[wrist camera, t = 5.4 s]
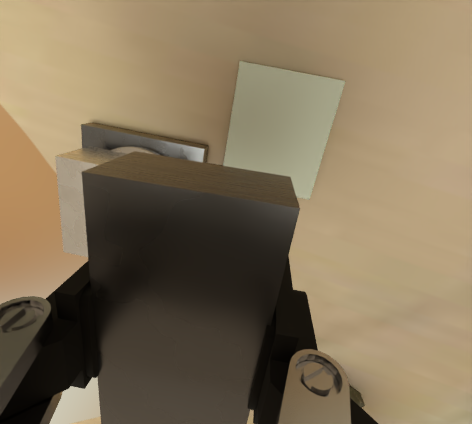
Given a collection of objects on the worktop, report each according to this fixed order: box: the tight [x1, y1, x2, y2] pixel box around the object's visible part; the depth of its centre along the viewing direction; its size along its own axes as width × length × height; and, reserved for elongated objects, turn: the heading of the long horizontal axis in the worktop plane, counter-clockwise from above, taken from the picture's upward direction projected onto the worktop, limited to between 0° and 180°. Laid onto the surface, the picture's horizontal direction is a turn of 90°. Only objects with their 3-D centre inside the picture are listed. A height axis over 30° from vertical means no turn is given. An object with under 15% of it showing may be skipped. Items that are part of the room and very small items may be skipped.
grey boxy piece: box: [55, 146, 160, 257], centre depth 28 cm, size 11×11×6 cm
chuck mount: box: [81, 123, 208, 163], centre depth 32 cm, size 13×13×2 cm
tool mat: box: [223, 61, 345, 200], centre depth 29 cm, size 12×10×1 cm
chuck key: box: [82, 151, 300, 424], centre depth 12 cm, size 9×4×9 cm, turn 172°
